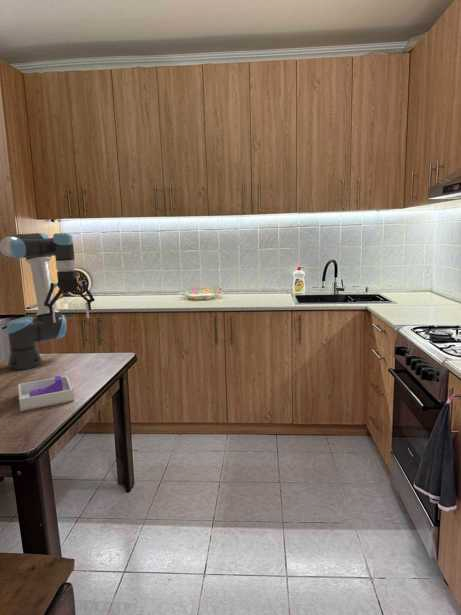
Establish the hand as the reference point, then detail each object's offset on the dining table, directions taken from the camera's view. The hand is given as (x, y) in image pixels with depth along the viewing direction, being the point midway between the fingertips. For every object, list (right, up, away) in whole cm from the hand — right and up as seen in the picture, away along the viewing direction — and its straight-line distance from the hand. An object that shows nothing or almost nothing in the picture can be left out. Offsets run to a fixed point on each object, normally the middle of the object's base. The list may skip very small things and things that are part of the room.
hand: (71, 320), depth 189 cm
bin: (-5, -30, -15) cm, 34 cm away
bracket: (-4, -30, -15) cm, 34 cm away
